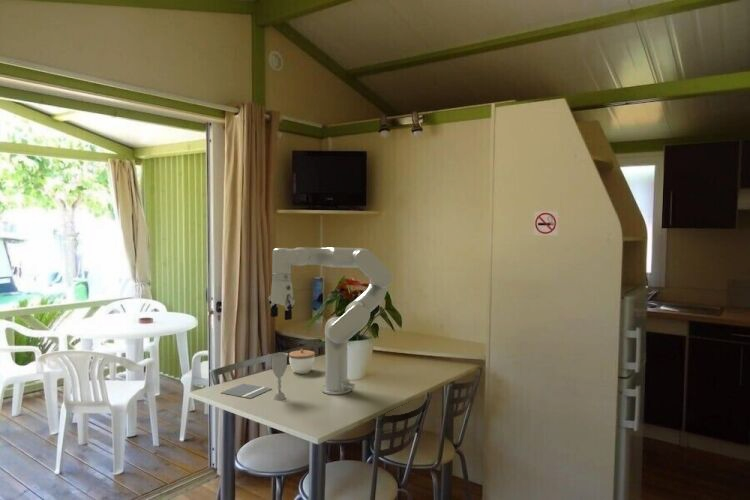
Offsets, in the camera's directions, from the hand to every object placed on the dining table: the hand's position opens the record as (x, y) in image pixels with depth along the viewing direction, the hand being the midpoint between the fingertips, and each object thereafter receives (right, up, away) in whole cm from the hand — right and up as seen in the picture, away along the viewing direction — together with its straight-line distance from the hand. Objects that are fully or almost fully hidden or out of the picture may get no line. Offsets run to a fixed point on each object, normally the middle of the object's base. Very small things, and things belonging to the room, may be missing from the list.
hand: (281, 318), depth 211 cm
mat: (-16, -32, +4) cm, 36 cm away
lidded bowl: (+4, -31, +35) cm, 47 cm away
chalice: (0, -33, -4) cm, 33 cm away
